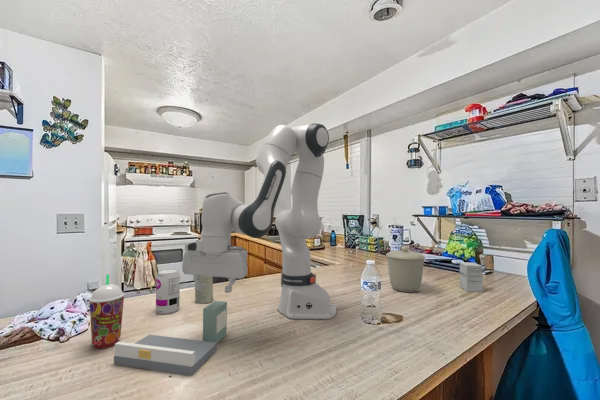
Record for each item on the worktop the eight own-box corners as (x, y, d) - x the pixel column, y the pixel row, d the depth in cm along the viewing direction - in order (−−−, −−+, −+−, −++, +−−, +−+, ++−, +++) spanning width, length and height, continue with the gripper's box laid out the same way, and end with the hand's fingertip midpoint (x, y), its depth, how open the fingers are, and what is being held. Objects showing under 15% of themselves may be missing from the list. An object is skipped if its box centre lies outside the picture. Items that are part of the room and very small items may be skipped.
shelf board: (217, 349, 76) (217, 331, 76) (191, 376, 64) (191, 354, 64) (149, 341, 81) (149, 324, 81) (113, 364, 69) (113, 344, 69)
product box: (227, 333, 86) (227, 301, 86) (215, 344, 79) (216, 310, 79) (214, 332, 87) (214, 300, 87) (202, 343, 80) (202, 308, 80)
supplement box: (459, 287, 136) (459, 261, 136) (475, 287, 135) (475, 262, 135) (466, 291, 129) (465, 265, 129) (483, 292, 128) (482, 265, 128)
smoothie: (96, 354, 73) (97, 280, 74) (82, 346, 78) (84, 275, 78) (129, 341, 80) (130, 273, 81) (115, 334, 85) (116, 270, 85)
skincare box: (213, 300, 116) (213, 271, 117) (208, 303, 112) (209, 273, 112) (198, 299, 117) (199, 270, 117) (194, 303, 113) (194, 273, 113)
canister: (432, 295, 123) (432, 248, 124) (392, 295, 124) (392, 248, 124) (416, 284, 142) (416, 243, 142) (381, 283, 142) (381, 243, 142)
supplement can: (155, 316, 99) (156, 274, 99) (155, 308, 106) (156, 270, 107) (179, 312, 103) (180, 272, 103) (178, 305, 110) (179, 268, 110)
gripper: (251, 245, 84) (250, 290, 84) (192, 242, 88) (190, 285, 88) (243, 248, 78) (241, 297, 78) (179, 244, 82) (178, 290, 82)
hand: (213, 290), depth 83 cm, fingers open, 8 cm apart
